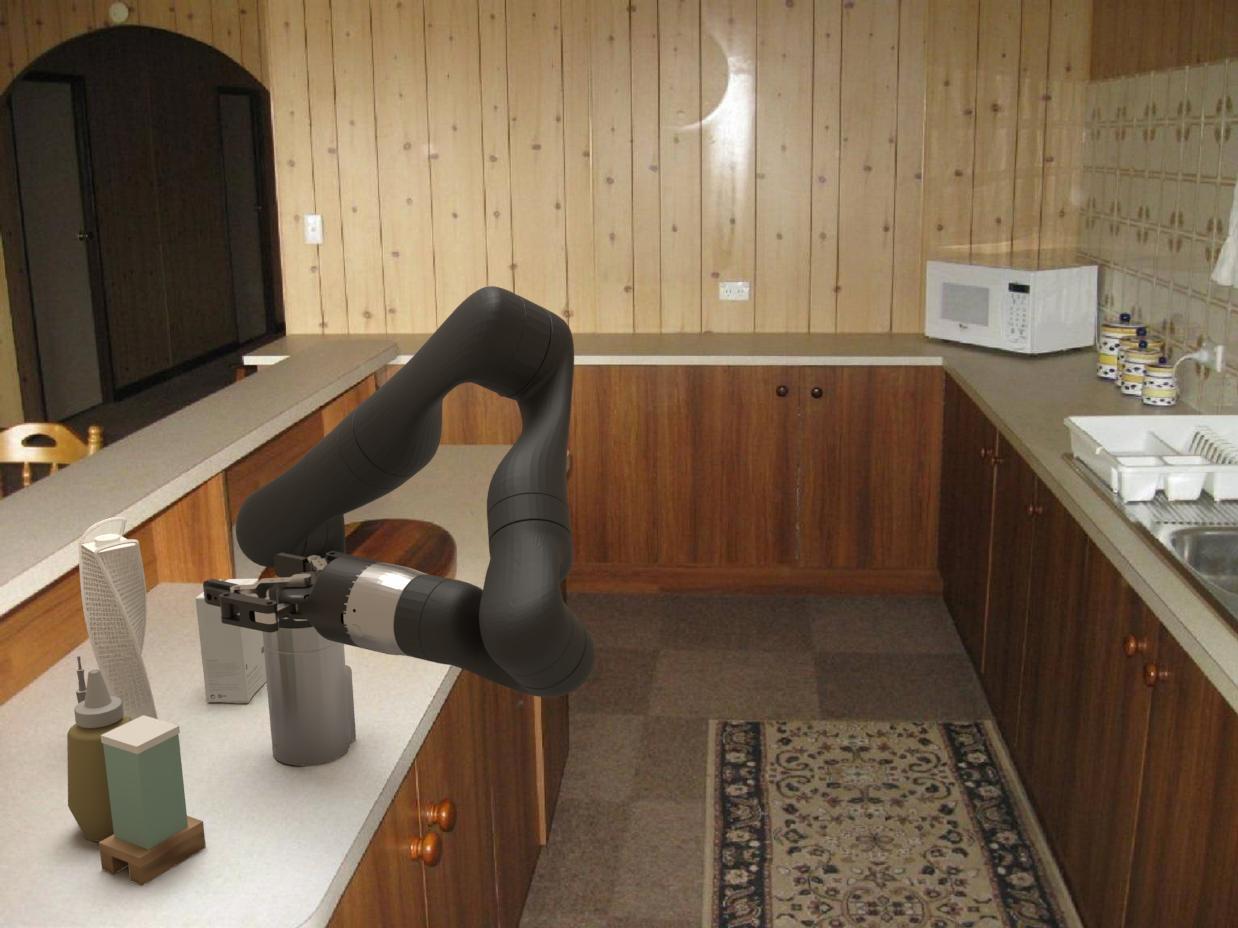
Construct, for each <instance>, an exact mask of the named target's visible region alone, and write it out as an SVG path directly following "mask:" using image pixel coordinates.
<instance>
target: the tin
mask: <svg viewBox="0 0 1238 928" xmlns="http://www.w3.org/2000/svg"><path fill="white" fill-rule="evenodd" d="M180 734H181V731H180V725H177V724H175V723H171V722H169V721H164V720H161V719H159V718H158V719H155V718H151V717H148V716H144V715H143V716H141V717H139V718H136V719H134V720H132V721H130V722H128V723H126V724H124V725H122V726H119V727H117V728H115V729H113V730H111V731H109V732H107V733H105V734H102V735H101V743H103V747H104V755H105V763H106V772H107V780H108V789H109V797H110V805H111V814H112V822H113V831H114V837H115V838H118V839H120V840H123V841H126V842H129V843H131V844H134V845H137V846H139V847H142V848H145V849H148V850H149V849H151V848H153V847H154V846H156V845H158V844H159V843H161V842H163V841H164V840H166V839H168V838H170V837H171V836H173V835H175V834H176V833H178V832H180V831H182V830H183V829H185V828H187V827H188V822H187V816H188V814H187V804H186V795H185V794H186V793H185V784H184V776H183V764H182V763H183V762H182V755H181V745H180V736H179V735H180Z"/></svg>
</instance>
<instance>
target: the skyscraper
mask: <svg viewBox="0 0 1238 928" xmlns="http://www.w3.org/2000/svg"><path fill="white" fill-rule="evenodd" d="M116 521H121V524H120V525H121V526H120V530H119V533H107V534H101V535H98V536H95V537H94V540H93V541H89V542H85V540H86V538H87V537H88V535H89V534H90V533H91V532H92V531H93V530H95V528H98V527H99V526H102V525H105V524H108V523H110V522H111V523H112V522H116ZM127 521H128V519H127V518H126V516H113V517H109V518H106V519H102V520H99V521H98V522H96V523H94V524H92V525H91V526H90V527H88V528H87V529H85V531H84V532H83V534H82V536H81V538H80V540H79V541H78V545H77V546H78V564H79V565H78V566H79V569H78V570H79V581H80V584H79V585H80V593H81V594H80V595H81V602H82V610H83V615H84V617H83V618H84V621H85V625H86V631H87V635H88V638H89V642H90V645H91V648H92V652H93V655H94V657H95V661H96V663H97V666H98V670H100V671H101V674H102V676H103V679H104V682H105V684H106V687H107V690H108V692H109V695H110V696H115V697H118V698H120V699H121V700H122V704H123V712H124V714H123V715H126V716H128V717H130V718H131V719H132V720H134V719H136V718H139V717H141V716H143V715H144V716H148V717H151V718H155V719H158V720H159V717H158V713H157V710H156V709H157V708H156V705H155V699H154V696H153V691H152V688H151V687H152V686H151V684H150V680H149V676H148V675H149V674H148V672H147V668H146V666H145V662H144V658H143V656H142V655H143V650H144V648H143V647H144V644H145V636H146V628H147V627H146V626H147V615H148V614H147V612H148V611H147V610H148V609H147V608H148V606H147V601H148V599H147V586H146V585H147V583H146V576H145V570H144V565H143V564H144V563H143V557H142V553H141V547H140V542H139V539H135V538H134V539H133V538H132V539H131V538H130V539H128V538H126V537H124V534H125V529H126V525H127ZM76 659H77V666H78V669H76V675H77V680H78V689H77V690H76V691H75V694H76V699H77V704H79V703H80V702H82V701H84V700H85V696H86V687H87V684H86V682H85V680H86V679H85V669H84V668H83V667H82V661H81V655H76Z"/></svg>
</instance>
